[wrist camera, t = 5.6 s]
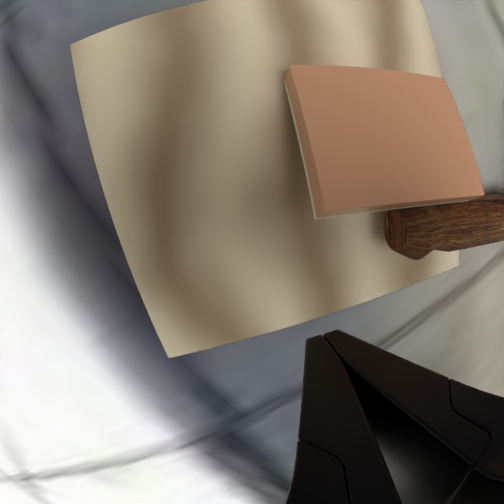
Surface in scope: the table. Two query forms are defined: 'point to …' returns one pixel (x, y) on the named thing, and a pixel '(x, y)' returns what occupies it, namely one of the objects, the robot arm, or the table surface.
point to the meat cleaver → (445, 226)
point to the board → (238, 162)
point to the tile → (379, 140)
